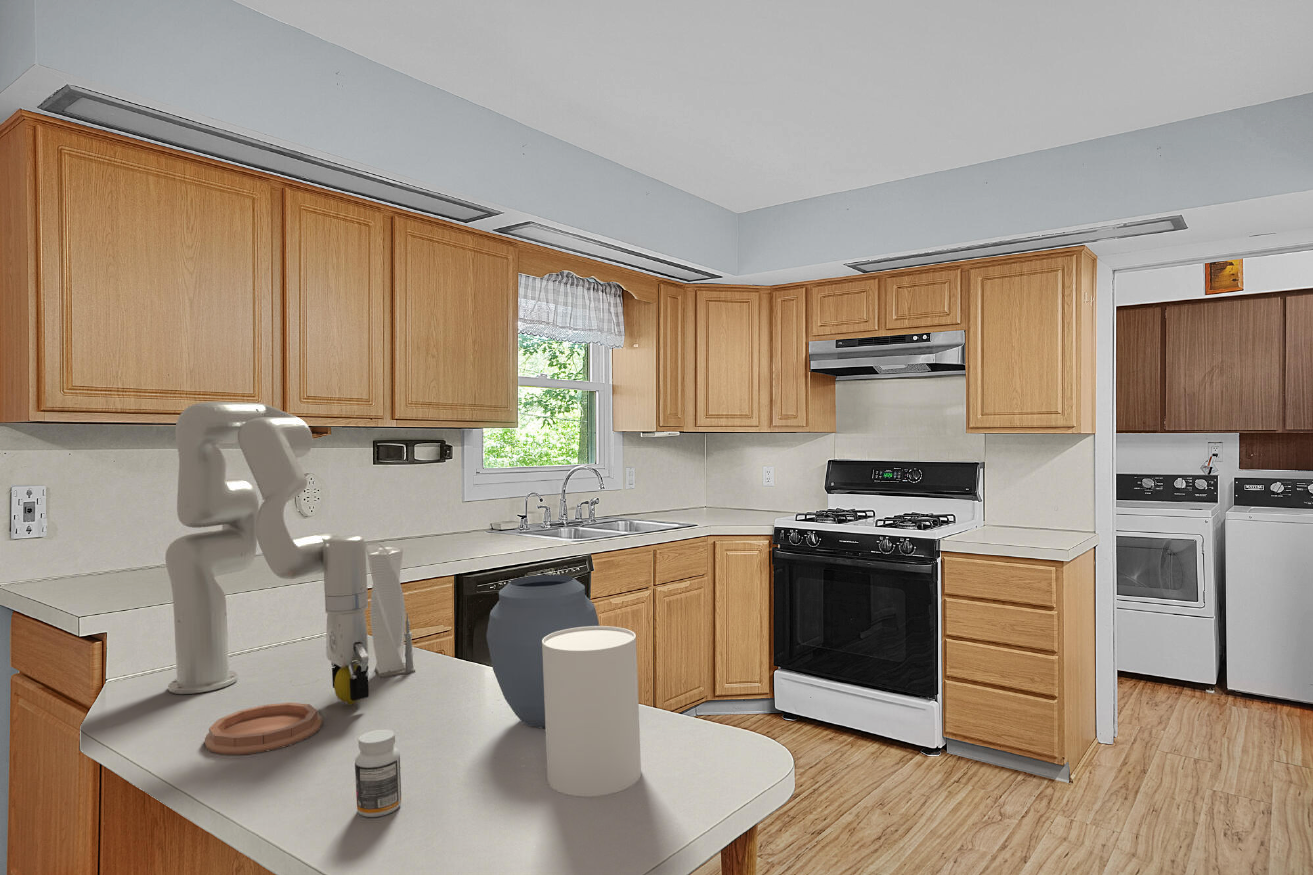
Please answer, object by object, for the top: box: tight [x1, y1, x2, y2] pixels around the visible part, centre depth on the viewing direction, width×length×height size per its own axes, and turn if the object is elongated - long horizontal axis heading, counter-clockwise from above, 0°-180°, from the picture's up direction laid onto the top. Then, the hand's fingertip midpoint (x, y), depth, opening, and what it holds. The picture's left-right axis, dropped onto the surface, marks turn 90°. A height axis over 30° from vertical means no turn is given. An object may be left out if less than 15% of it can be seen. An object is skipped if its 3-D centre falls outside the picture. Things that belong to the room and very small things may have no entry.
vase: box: [485, 574, 601, 729], centre depth 139 cm, size 20×20×24 cm
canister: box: [542, 625, 642, 797], centre depth 116 cm, size 14×14×20 cm
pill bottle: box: [354, 729, 402, 818], centre depth 108 cm, size 6×6×10 cm
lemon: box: [333, 665, 357, 706], centre depth 152 cm, size 6×6×8 cm
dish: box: [204, 702, 323, 756], centre depth 138 cm, size 18×18×2 cm
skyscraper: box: [365, 542, 416, 679], centre depth 173 cm, size 8×8×28 cm
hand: (350, 692), depth 152 cm, fingers open, 9 cm apart
